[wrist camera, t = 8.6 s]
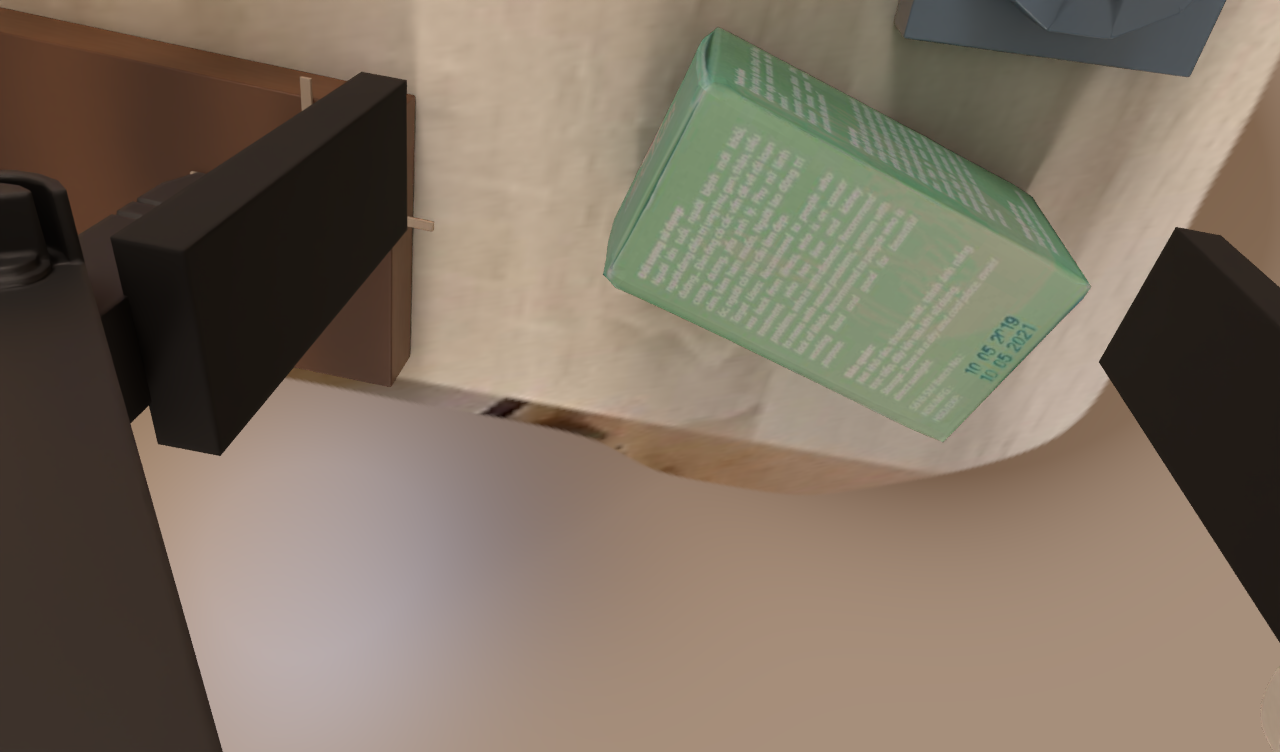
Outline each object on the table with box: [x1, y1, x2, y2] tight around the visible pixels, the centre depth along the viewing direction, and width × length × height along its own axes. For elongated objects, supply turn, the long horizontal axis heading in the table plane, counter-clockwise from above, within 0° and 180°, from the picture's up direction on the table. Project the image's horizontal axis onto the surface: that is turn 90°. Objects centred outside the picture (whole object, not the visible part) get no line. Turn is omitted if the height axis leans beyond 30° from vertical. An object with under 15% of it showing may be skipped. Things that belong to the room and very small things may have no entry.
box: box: [603, 27, 1091, 442], centre depth 28 cm, size 7×14×8 cm, turn 65°
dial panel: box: [0, 8, 434, 387], centre depth 33 cm, size 18×13×3 cm
